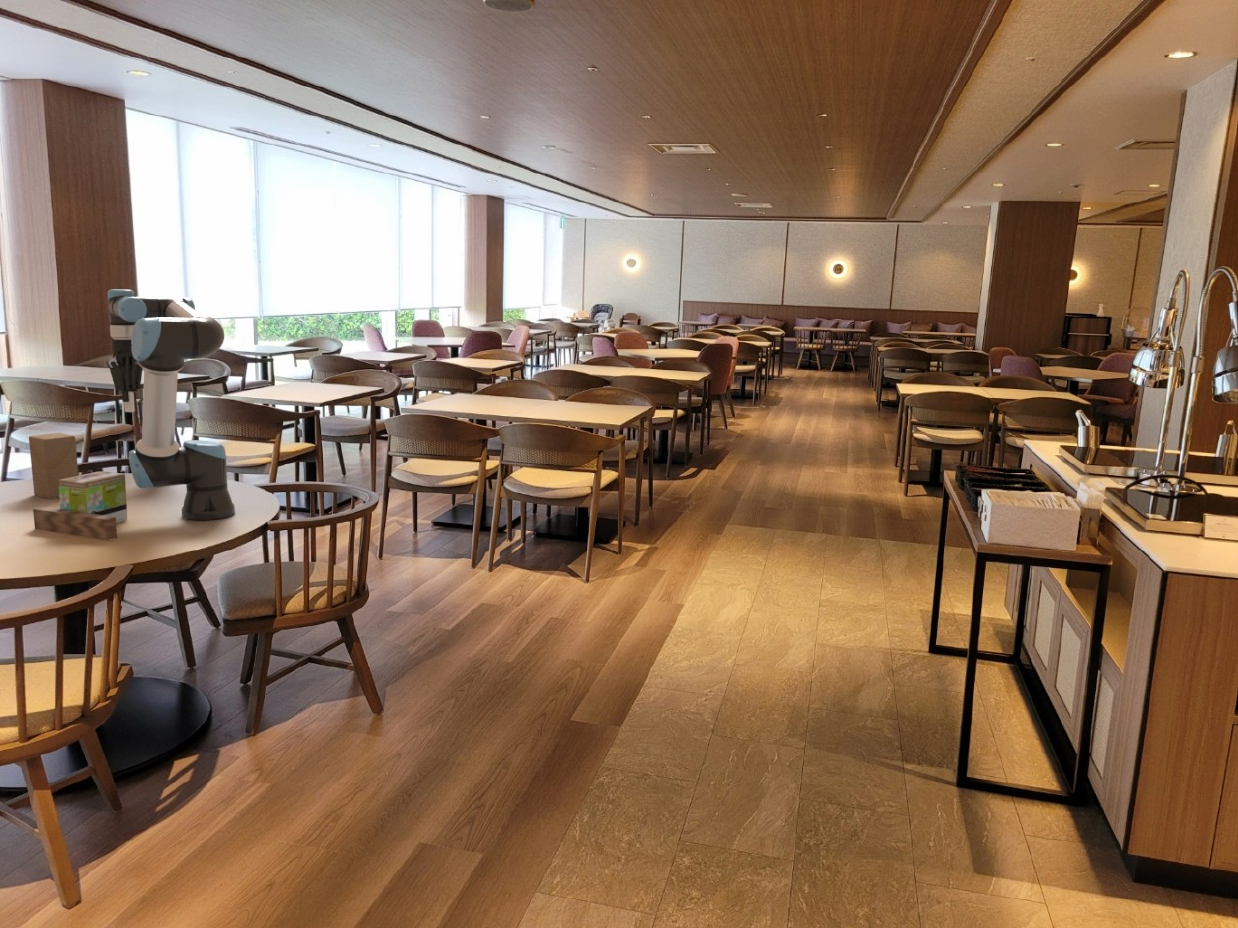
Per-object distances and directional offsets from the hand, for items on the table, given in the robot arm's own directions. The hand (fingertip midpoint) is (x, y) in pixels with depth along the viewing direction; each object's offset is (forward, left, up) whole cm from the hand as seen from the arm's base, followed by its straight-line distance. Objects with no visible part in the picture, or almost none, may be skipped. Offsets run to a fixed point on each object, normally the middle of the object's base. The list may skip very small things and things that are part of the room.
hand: (129, 411), depth 293 cm
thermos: (+15, -25, -30) cm, 42 cm away
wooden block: (+28, +6, -30) cm, 41 cm away
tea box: (-15, +28, -30) cm, 43 cm away
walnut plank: (-18, +38, -29) cm, 51 cm away
